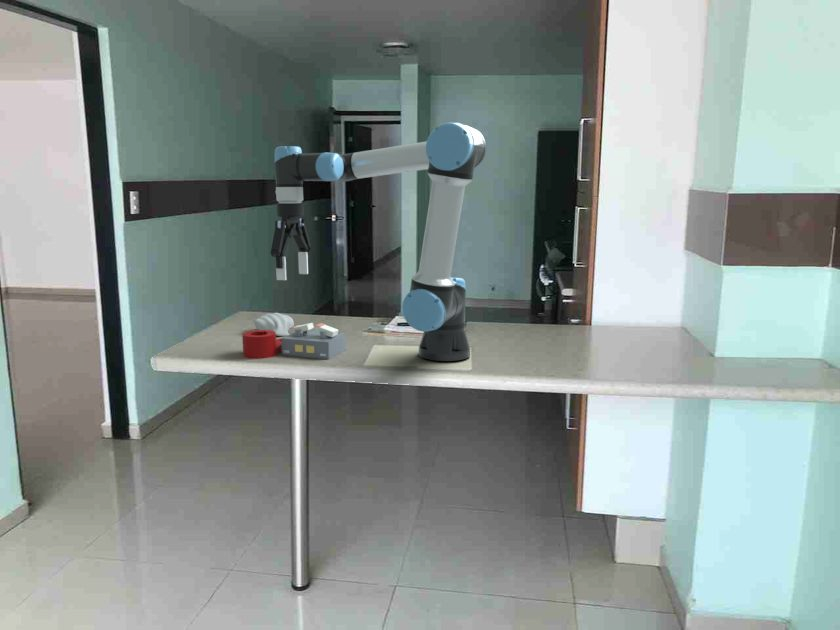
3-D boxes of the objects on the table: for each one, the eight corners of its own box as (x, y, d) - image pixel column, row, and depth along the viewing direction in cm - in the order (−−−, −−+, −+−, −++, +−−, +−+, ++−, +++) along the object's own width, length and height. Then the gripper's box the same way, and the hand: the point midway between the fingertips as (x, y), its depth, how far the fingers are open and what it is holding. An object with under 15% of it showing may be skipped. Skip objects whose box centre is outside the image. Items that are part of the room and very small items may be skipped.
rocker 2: (337, 334, 199) (338, 329, 198) (332, 337, 195) (333, 331, 195) (319, 328, 200) (320, 322, 200) (313, 330, 197) (315, 325, 196)
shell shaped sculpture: (258, 329, 230) (257, 311, 229) (296, 329, 231) (295, 311, 230) (251, 338, 218) (250, 318, 216) (291, 338, 218) (290, 318, 217)
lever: (264, 361, 191) (263, 338, 190) (236, 358, 194) (235, 335, 193) (297, 347, 207) (297, 326, 206) (271, 344, 211) (270, 323, 209)
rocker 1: (313, 327, 201) (312, 322, 201) (308, 330, 197) (306, 324, 197) (296, 331, 203) (295, 325, 203) (290, 333, 199) (289, 328, 199)
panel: (345, 349, 204) (345, 326, 202) (328, 359, 192) (327, 334, 191) (301, 345, 208) (300, 322, 207) (281, 355, 197) (280, 331, 195)
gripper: (298, 201, 204) (300, 271, 208) (255, 203, 181) (259, 282, 185) (320, 201, 202) (323, 272, 206) (280, 203, 178) (283, 283, 182)
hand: (292, 277), depth 195 cm, fingers open, 13 cm apart
